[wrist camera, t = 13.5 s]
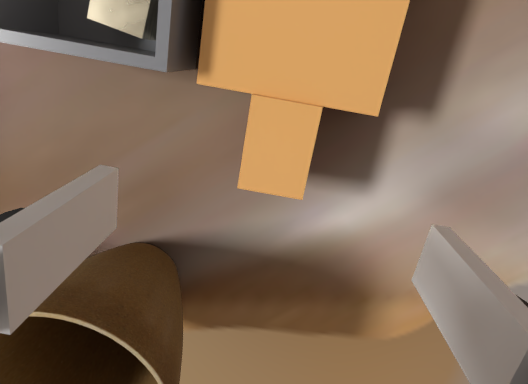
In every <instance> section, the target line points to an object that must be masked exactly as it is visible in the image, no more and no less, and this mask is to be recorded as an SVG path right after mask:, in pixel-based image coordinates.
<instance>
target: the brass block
mask: <svg viewBox="0 0 528 384" xmlns="http://www.w3.org/2000/svg"><path fill="white" fill-rule="evenodd" d="M158 2H159V0H90V3H89V9H88V15H87V18H88V19H91V20H93V21H96V22H99V23H101V24H104V25H107V26H109V27H112V28H115V29H117V30H120V31H123V32H125V33H128V34H131V35H133V36H136V37H139V38H141V39H147V40H155V41H156V34H157V18H158Z"/></svg>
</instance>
